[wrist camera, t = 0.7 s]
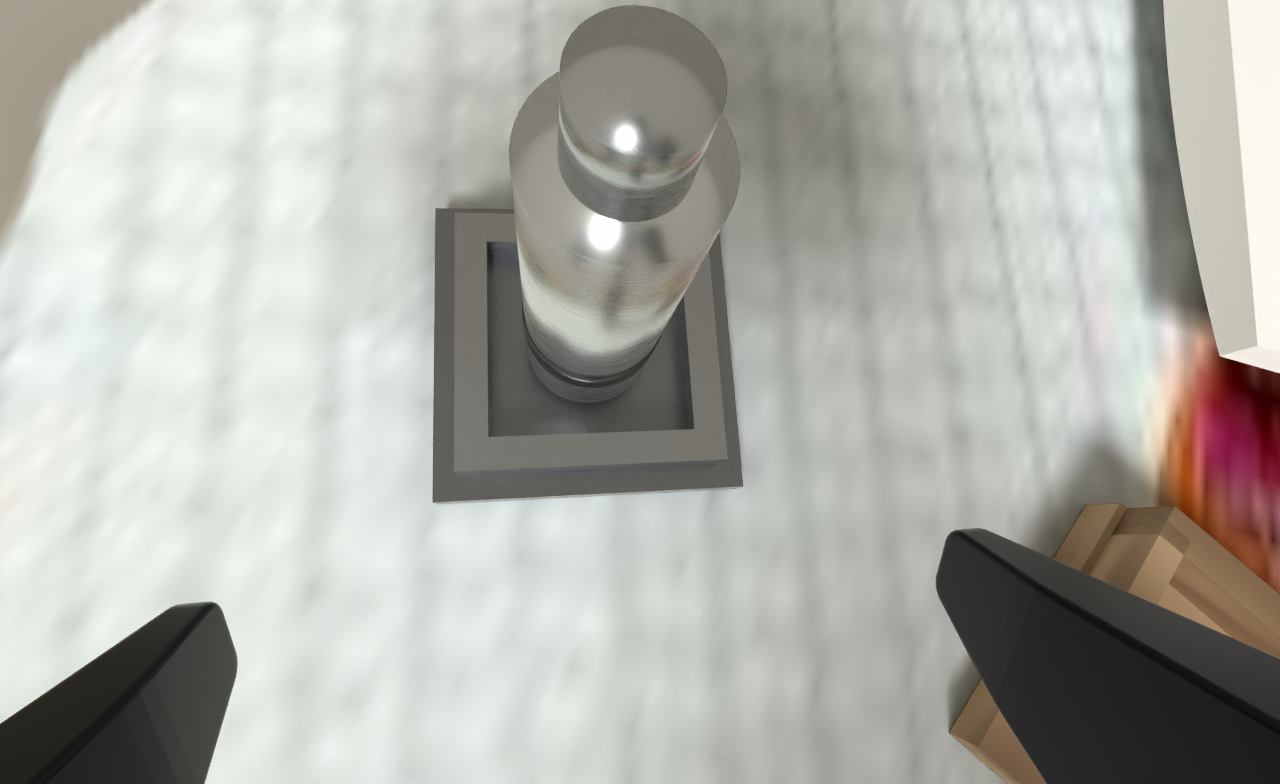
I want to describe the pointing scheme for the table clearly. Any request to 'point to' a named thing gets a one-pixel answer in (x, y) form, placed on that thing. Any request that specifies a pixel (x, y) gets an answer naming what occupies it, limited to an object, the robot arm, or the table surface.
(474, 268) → the socket
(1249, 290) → the board
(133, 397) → the table surface
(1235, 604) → the tray
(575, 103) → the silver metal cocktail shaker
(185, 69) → the table surface
